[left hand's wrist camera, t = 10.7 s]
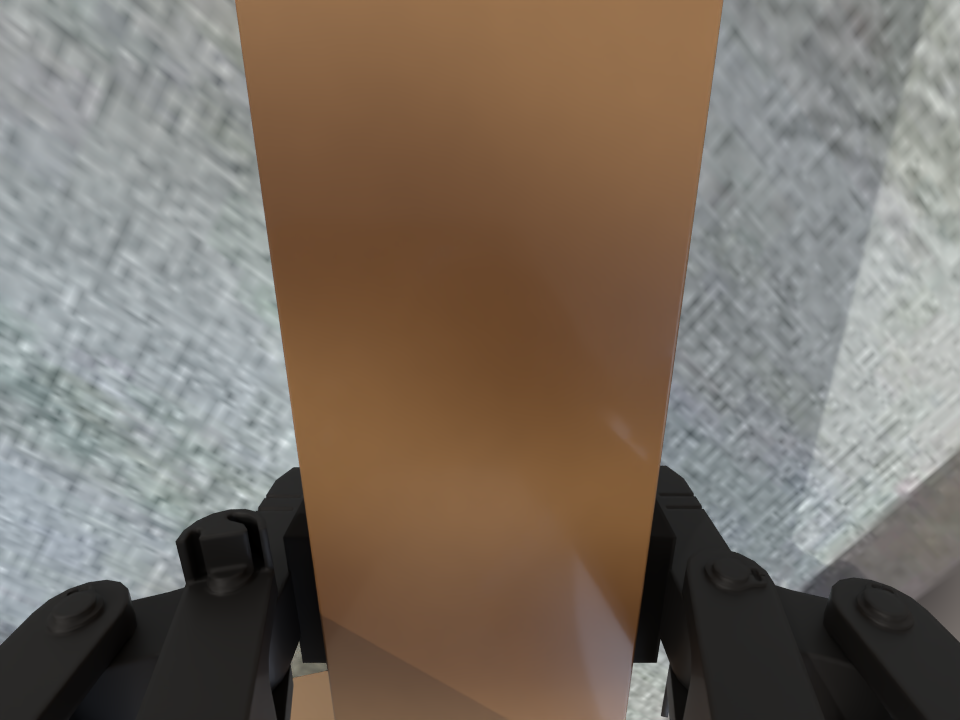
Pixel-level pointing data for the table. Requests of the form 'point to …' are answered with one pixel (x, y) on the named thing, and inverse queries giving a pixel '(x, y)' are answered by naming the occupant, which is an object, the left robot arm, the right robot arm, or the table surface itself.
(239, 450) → the table surface
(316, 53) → the post
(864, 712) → the left robot arm
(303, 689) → the squash
